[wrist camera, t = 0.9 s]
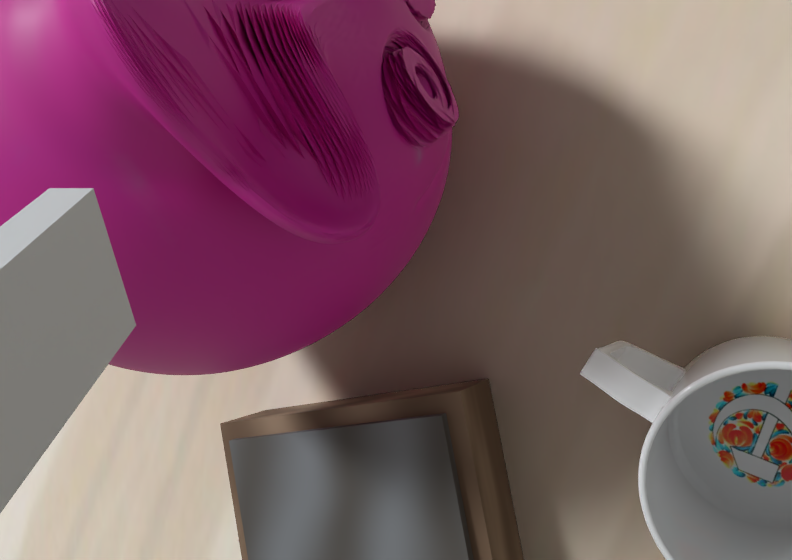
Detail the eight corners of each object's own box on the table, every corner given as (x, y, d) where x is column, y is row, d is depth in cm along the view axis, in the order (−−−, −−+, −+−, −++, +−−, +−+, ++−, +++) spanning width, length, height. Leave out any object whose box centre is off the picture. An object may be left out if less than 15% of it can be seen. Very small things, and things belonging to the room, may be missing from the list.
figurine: (611, 186, 35) (393, 32, 12) (295, 412, 44) (-162, 560, 21) (385, -121, 40) (-46, -609, 18) (147, 136, 49) (-336, 23, 27)
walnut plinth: (488, 378, 38) (455, 393, 33) (545, 669, 36) (519, 725, 32) (265, 410, 45) (213, 425, 40) (305, 654, 43) (257, 698, 39)
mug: (926, 405, 29) (1030, 476, 19) (802, 560, 31) (836, 697, 21) (669, 265, 33) (644, 262, 23) (577, 408, 36) (517, 461, 26)
